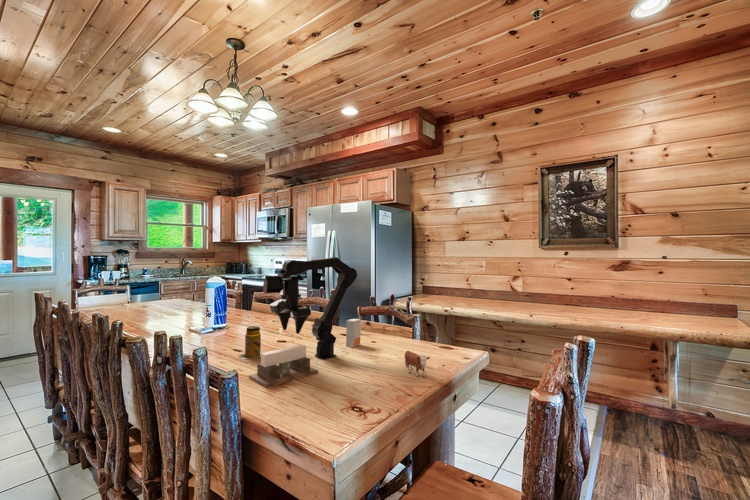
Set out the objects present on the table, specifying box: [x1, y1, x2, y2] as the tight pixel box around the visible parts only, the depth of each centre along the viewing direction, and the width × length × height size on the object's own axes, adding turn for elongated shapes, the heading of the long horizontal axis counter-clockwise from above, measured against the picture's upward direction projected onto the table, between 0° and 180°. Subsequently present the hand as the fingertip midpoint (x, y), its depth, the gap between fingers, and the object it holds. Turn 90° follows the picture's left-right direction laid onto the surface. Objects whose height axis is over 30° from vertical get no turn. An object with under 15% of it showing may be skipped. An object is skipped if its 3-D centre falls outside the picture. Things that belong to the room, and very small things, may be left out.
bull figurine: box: [404, 350, 431, 378], centre depth 123 cm, size 4×13×8 cm, turn 25°
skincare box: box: [345, 318, 362, 348], centre depth 162 cm, size 6×4×12 cm
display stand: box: [248, 356, 319, 389], centre depth 121 cm, size 20×12×5 cm, turn 135°
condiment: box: [237, 325, 262, 361], centre depth 144 cm, size 7×8×12 cm
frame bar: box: [260, 344, 307, 367], centre depth 121 cm, size 16×3×4 cm, turn 135°
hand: (291, 331), depth 136 cm, fingers open, 9 cm apart
